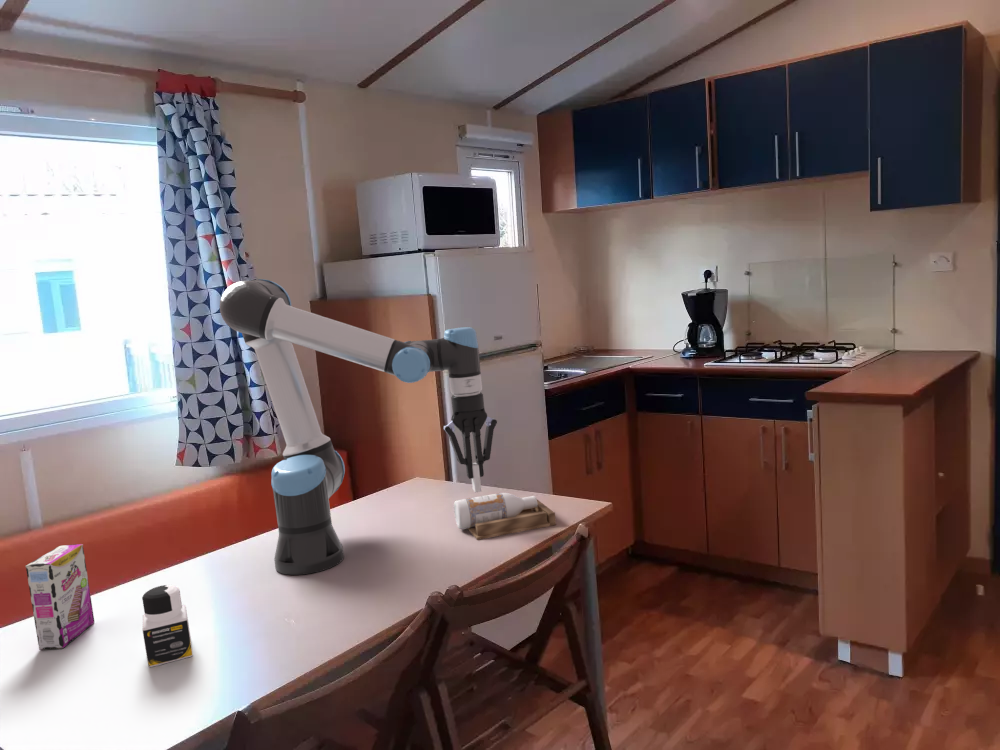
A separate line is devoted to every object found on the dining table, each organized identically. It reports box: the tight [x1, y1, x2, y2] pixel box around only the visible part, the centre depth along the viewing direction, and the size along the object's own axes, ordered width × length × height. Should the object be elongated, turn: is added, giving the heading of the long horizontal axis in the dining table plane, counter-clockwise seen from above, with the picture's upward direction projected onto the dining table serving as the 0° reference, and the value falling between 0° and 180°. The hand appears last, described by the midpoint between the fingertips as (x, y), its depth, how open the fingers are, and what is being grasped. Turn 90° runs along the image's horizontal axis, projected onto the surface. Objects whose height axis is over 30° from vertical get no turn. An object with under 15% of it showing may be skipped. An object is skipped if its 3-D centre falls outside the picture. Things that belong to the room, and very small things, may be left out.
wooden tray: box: [466, 499, 557, 541], centre depth 193 cm, size 20×14×3 cm
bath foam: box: [453, 492, 538, 530], centre depth 193 cm, size 7×7×20 cm
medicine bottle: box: [141, 584, 194, 668], centre depth 139 cm, size 7×7×12 cm
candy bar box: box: [25, 543, 95, 651], centre depth 151 cm, size 11×5×16 cm, turn 178°
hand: (477, 490), depth 190 cm, fingers closed
